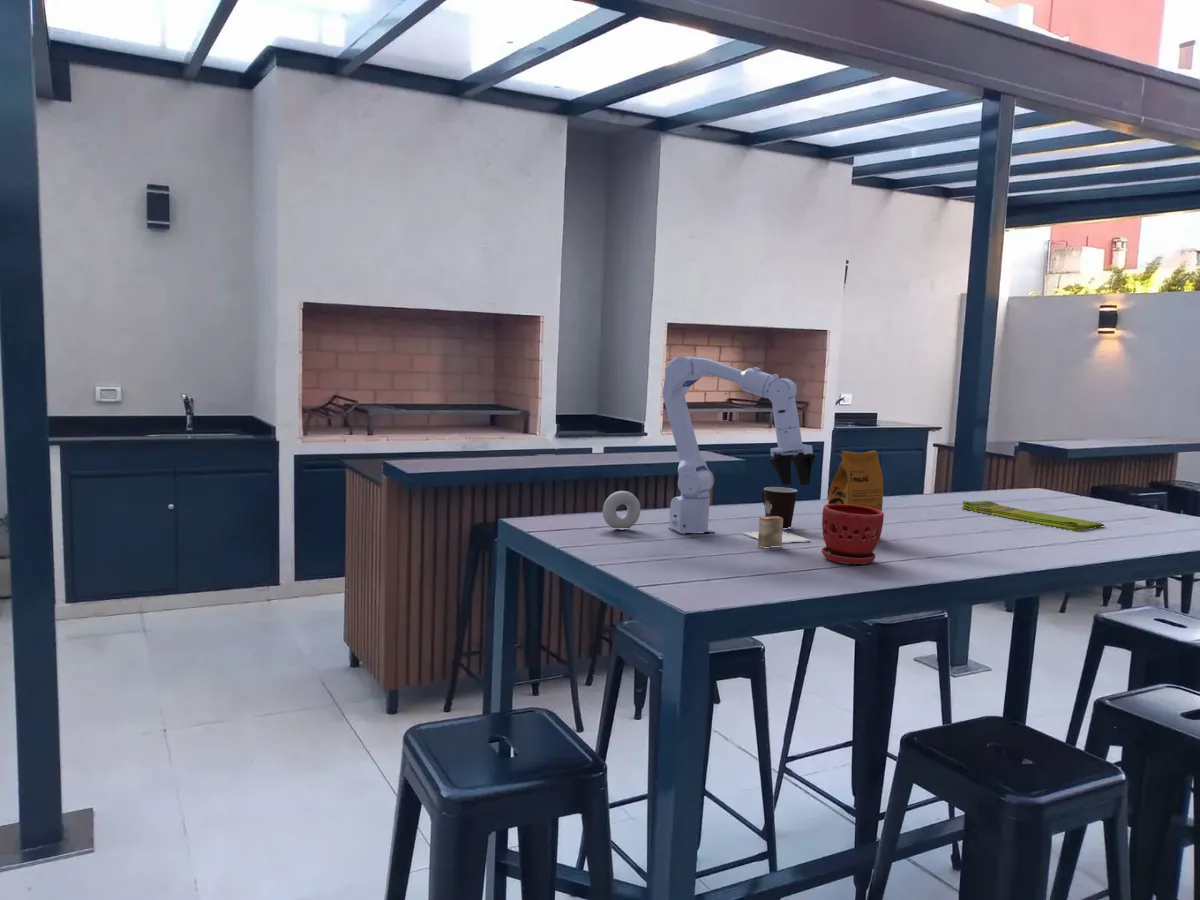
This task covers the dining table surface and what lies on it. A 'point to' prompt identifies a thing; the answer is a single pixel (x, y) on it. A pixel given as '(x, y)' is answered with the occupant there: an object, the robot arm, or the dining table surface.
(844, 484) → the coffee package
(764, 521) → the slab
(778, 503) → the coffee mug
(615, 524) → the donut
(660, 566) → the dining table surface
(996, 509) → the dish towel
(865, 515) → the plant pot
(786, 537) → the mat
